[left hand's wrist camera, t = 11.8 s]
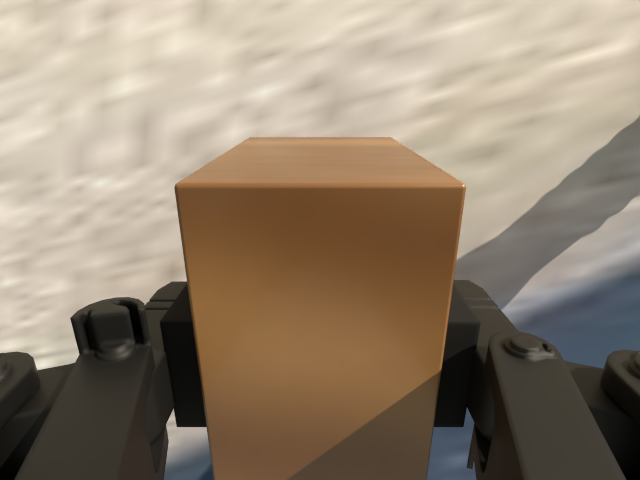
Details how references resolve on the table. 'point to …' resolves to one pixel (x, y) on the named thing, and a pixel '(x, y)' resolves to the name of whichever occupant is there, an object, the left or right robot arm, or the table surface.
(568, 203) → the table surface
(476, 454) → the left robot arm
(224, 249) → the beam
